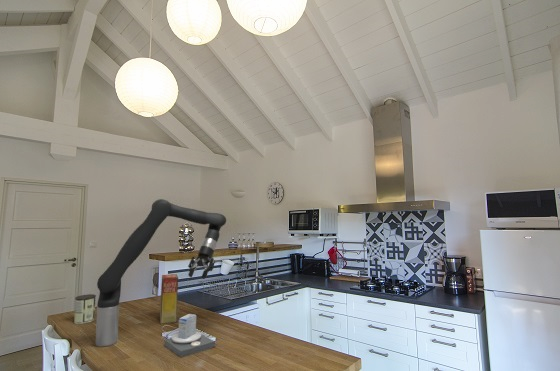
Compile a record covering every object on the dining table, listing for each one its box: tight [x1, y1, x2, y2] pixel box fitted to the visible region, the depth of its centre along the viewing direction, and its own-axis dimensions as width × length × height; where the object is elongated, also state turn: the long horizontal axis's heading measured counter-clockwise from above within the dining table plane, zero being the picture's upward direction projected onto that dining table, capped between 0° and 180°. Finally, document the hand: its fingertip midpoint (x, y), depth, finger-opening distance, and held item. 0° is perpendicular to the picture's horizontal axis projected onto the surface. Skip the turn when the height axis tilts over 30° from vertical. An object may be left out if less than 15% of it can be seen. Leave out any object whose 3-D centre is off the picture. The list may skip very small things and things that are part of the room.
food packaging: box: [159, 273, 179, 325], centre depth 185 cm, size 13×9×25 cm
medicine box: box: [178, 313, 197, 339], centre depth 146 cm, size 8×4×9 cm, turn 162°
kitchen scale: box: [163, 330, 216, 358], centre depth 143 cm, size 18×16×4 cm
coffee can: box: [73, 293, 97, 325], centre depth 183 cm, size 10×10×14 cm
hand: (196, 277), depth 159 cm, fingers open, 8 cm apart
